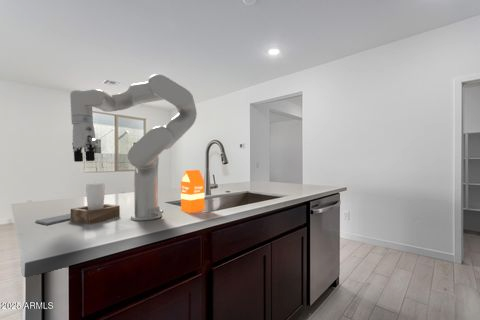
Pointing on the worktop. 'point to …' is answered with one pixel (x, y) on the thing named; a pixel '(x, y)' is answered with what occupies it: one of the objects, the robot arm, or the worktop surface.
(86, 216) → the walnut holder
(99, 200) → the drinking glass
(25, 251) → the worktop surface
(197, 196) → the orange juice
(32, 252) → the worktop surface
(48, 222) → the charcoal tile coaster
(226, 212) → the worktop surface
